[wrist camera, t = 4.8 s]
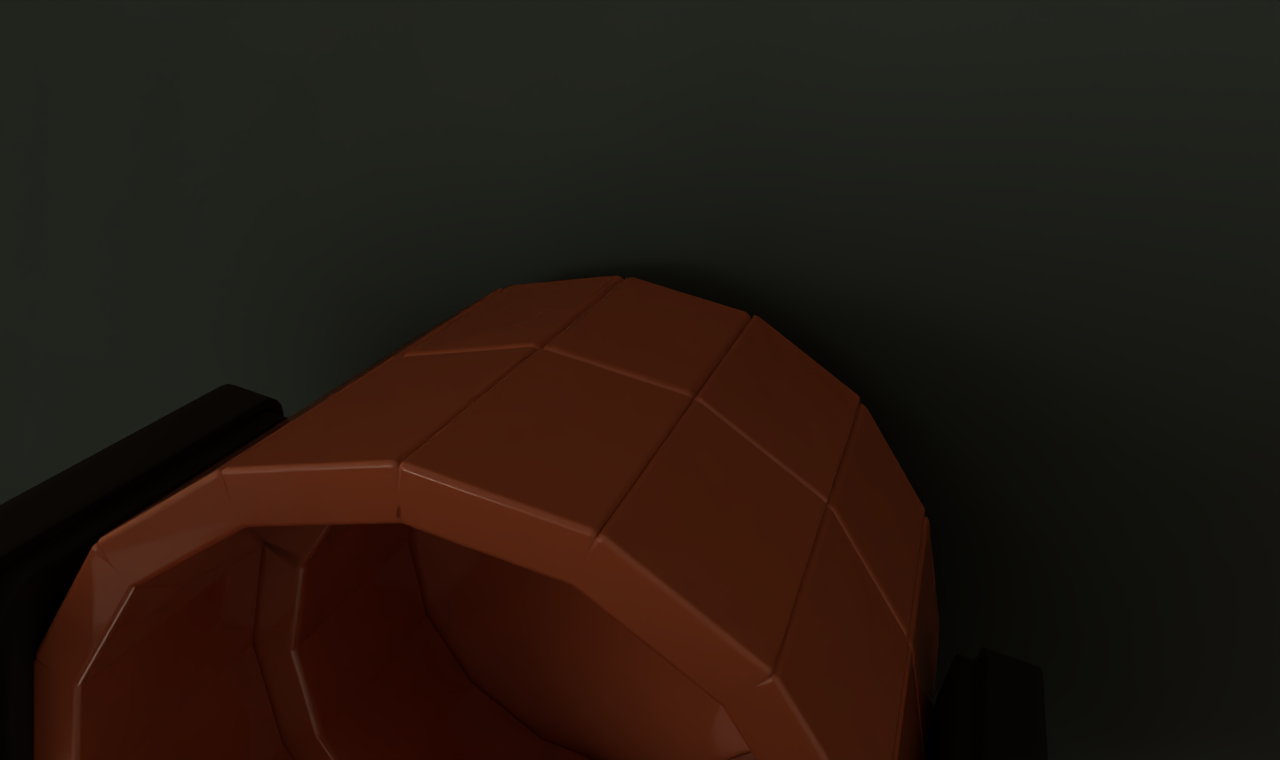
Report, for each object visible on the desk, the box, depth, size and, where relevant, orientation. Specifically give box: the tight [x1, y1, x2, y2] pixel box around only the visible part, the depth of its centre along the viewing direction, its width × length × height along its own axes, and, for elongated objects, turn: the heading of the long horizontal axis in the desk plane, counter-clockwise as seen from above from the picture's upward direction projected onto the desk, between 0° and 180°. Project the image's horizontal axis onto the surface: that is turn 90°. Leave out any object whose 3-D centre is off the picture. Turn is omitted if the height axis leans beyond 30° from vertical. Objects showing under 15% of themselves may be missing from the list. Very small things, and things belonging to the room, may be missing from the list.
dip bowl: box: [33, 275, 940, 760], centre depth 11 cm, size 7×7×6 cm
